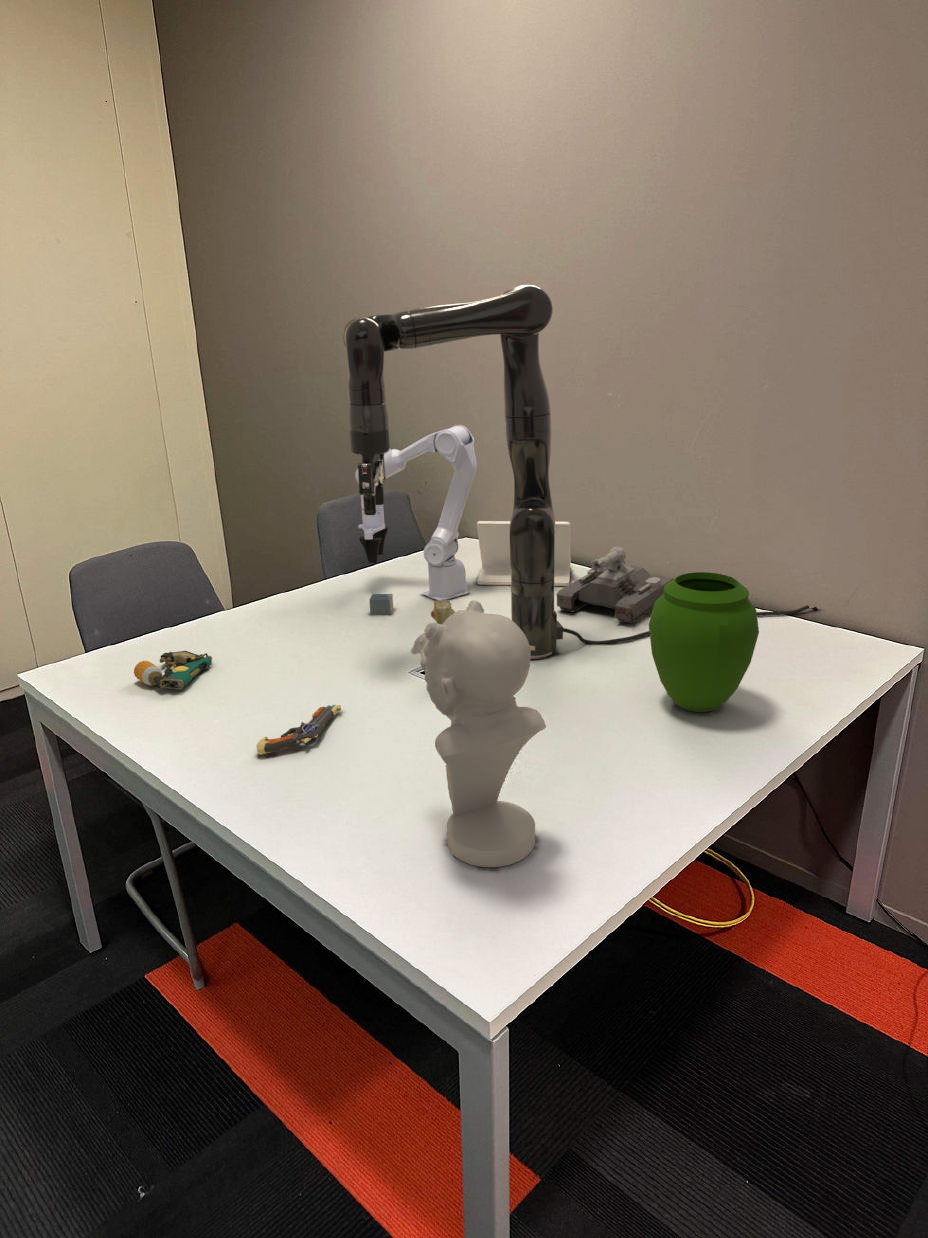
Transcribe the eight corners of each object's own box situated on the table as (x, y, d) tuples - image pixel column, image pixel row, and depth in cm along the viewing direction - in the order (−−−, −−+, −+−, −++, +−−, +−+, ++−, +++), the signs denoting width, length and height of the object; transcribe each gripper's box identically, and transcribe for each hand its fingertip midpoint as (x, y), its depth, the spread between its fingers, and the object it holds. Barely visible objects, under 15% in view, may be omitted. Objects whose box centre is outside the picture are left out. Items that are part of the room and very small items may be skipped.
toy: (603, 584, 229) (605, 530, 224) (673, 597, 218) (677, 540, 213) (555, 612, 210) (556, 553, 205) (630, 627, 199) (633, 566, 194)
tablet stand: (569, 585, 229) (570, 524, 223) (476, 584, 232) (475, 523, 226) (570, 566, 246) (571, 508, 240) (484, 564, 249) (483, 507, 243)
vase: (763, 694, 164) (775, 574, 156) (734, 737, 149) (746, 606, 140) (665, 674, 174) (672, 560, 166) (628, 712, 159) (634, 588, 150)
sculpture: (458, 662, 183) (456, 596, 178) (460, 676, 176) (457, 608, 171) (431, 663, 183) (428, 597, 177) (431, 677, 176) (428, 609, 171)
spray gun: (177, 659, 191) (231, 671, 185) (120, 684, 176) (176, 698, 171) (176, 641, 190) (230, 653, 184) (118, 665, 175) (174, 678, 169)
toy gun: (251, 744, 146) (305, 742, 144) (292, 702, 164) (341, 700, 162) (254, 759, 147) (308, 756, 145) (295, 715, 165) (344, 713, 163)
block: (373, 609, 217) (372, 593, 215) (393, 609, 216) (392, 593, 215) (370, 614, 213) (369, 599, 211) (390, 614, 212) (389, 599, 211)
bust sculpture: (481, 772, 140) (476, 569, 128) (565, 848, 120) (569, 617, 108) (392, 800, 134) (378, 588, 121) (465, 886, 114) (457, 642, 101)
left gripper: (363, 502, 231) (366, 550, 236) (351, 515, 218) (355, 566, 222) (389, 502, 230) (392, 550, 235) (378, 515, 217) (381, 566, 222)
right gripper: (357, 422, 171) (363, 501, 177) (341, 433, 158) (348, 518, 164) (394, 421, 171) (399, 501, 176) (381, 432, 157) (386, 518, 163)
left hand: (375, 558), depth 229 cm, fingers open, 7 cm apart
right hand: (374, 509), depth 170 cm, fingers open, 8 cm apart
